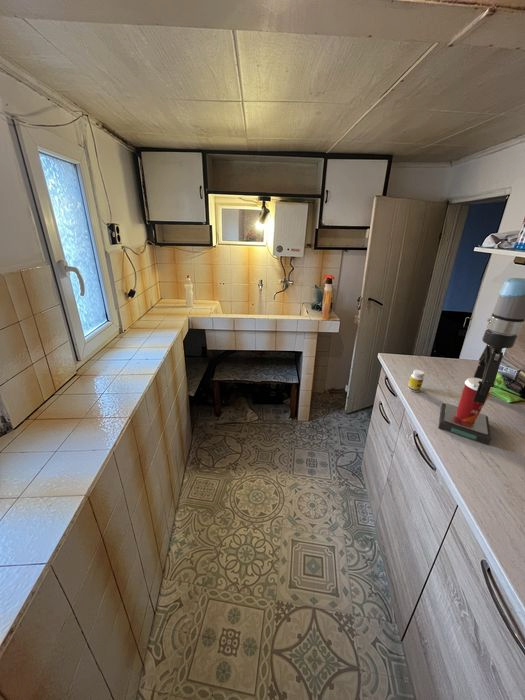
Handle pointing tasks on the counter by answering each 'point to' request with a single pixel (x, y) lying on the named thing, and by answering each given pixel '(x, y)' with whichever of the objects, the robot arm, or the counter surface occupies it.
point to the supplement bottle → (416, 381)
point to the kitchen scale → (464, 425)
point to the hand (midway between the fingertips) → (477, 392)
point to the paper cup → (470, 401)
